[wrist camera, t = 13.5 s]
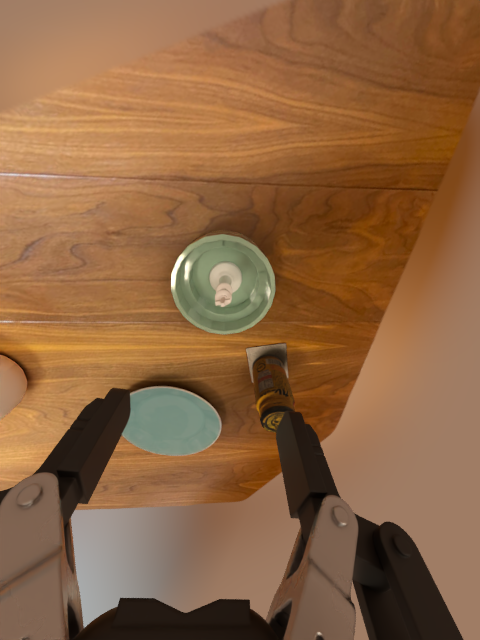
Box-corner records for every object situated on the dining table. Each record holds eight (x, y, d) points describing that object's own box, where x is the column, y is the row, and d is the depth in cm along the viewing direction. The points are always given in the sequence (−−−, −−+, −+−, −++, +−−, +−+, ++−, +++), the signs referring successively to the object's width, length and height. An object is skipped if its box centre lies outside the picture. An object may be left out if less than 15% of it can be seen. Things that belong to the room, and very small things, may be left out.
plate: (138, 448, 52) (133, 460, 49) (102, 382, 42) (93, 393, 39) (228, 440, 51) (227, 452, 49) (213, 371, 41) (212, 382, 38)
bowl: (170, 237, 29) (156, 244, 24) (264, 223, 29) (271, 226, 24) (193, 320, 36) (186, 339, 30) (271, 309, 35) (277, 327, 30)
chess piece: (244, 290, 33) (248, 320, 24) (213, 295, 33) (206, 327, 24) (238, 258, 30) (240, 279, 22) (205, 264, 31) (194, 287, 22)
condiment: (251, 381, 43) (257, 439, 32) (245, 348, 39) (250, 401, 28) (288, 376, 42) (306, 433, 32) (285, 342, 38) (305, 394, 28)
